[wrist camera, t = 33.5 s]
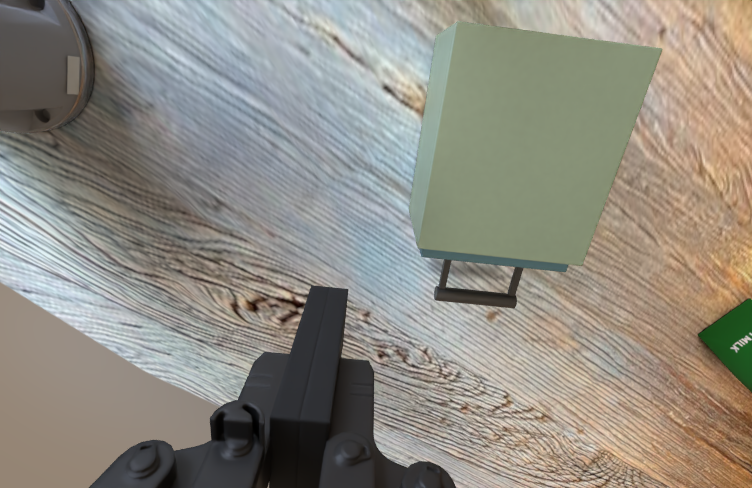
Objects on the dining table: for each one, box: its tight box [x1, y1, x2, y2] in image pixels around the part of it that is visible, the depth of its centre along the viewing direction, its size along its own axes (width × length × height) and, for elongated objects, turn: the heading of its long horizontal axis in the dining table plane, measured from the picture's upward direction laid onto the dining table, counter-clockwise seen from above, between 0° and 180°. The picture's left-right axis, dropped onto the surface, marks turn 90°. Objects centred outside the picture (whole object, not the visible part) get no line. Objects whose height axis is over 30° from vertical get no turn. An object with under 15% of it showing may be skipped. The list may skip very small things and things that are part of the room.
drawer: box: [419, 248, 568, 308], centre depth 36 cm, size 21×13×8 cm, turn 173°
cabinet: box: [409, 21, 662, 266], centre depth 34 cm, size 17×14×10 cm
